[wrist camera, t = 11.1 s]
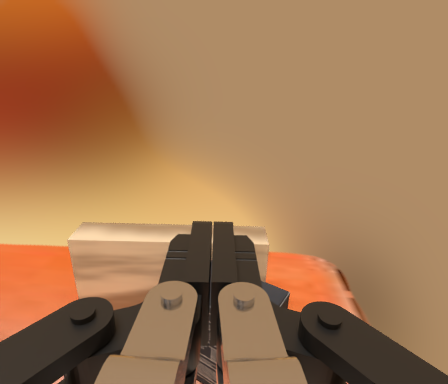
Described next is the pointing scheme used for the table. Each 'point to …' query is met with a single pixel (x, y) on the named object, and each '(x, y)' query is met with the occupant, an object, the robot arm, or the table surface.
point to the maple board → (134, 258)
